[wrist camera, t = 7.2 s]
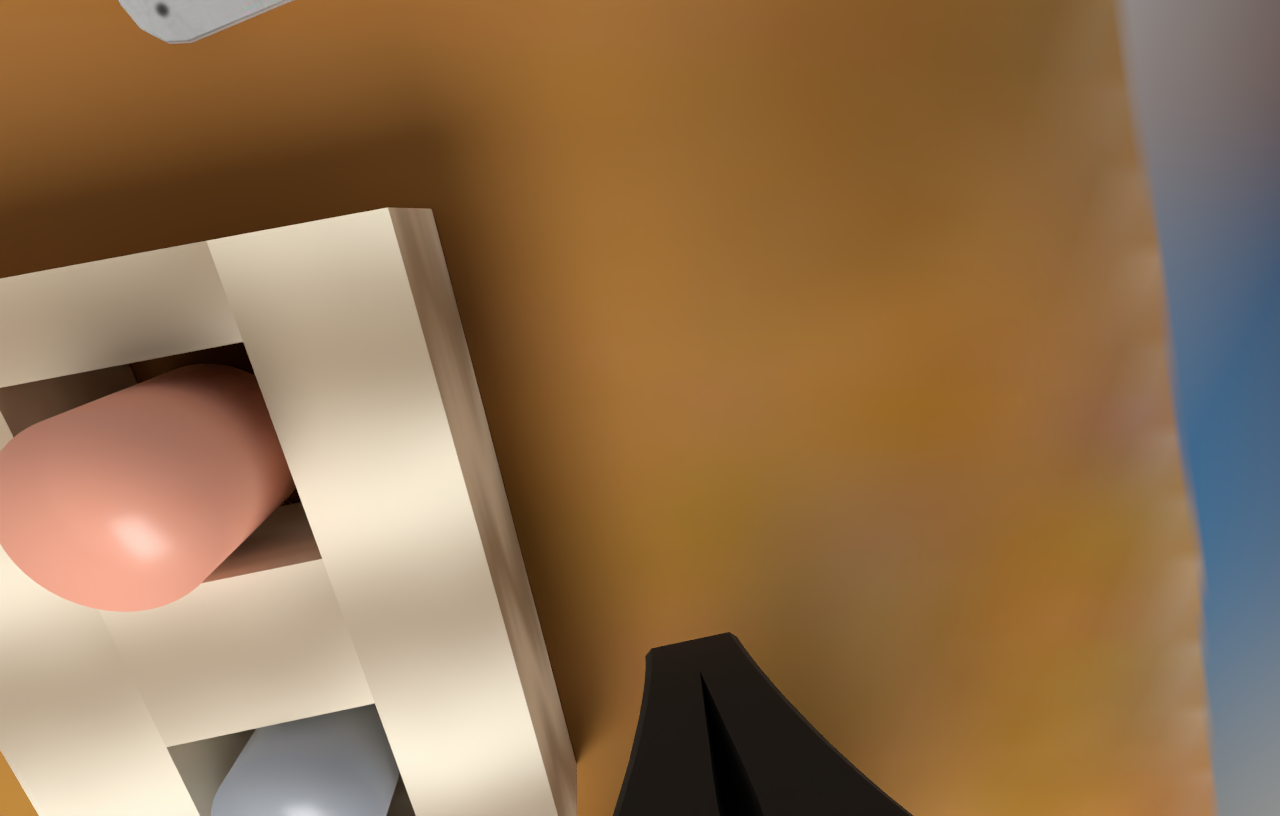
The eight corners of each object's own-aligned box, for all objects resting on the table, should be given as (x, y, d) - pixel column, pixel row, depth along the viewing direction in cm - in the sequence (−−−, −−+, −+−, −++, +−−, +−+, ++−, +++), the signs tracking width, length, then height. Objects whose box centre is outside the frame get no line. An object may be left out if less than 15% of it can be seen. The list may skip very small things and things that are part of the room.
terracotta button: (328, 502, 17) (254, 588, 13) (169, 533, 16) (45, 630, 13) (274, 348, 15) (175, 393, 12) (102, 381, 15) (-56, 437, 11)
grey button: (434, 741, 21) (402, 861, 17) (307, 768, 20) (245, 896, 17) (398, 634, 19) (355, 737, 16) (262, 662, 19) (184, 774, 15)
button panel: (576, 765, 22) (576, 881, 18) (214, 843, 21) (136, 980, 18) (431, 208, 17) (387, 207, 13) (-54, 298, 16) (-250, 324, 12)
